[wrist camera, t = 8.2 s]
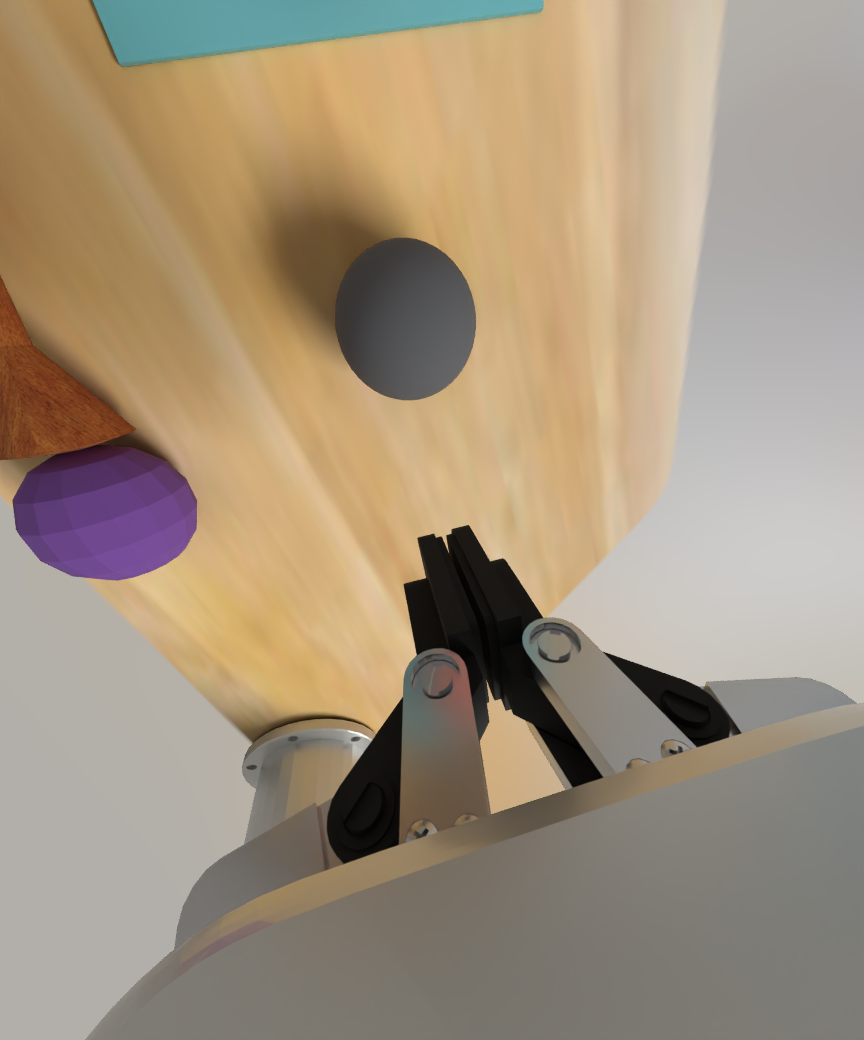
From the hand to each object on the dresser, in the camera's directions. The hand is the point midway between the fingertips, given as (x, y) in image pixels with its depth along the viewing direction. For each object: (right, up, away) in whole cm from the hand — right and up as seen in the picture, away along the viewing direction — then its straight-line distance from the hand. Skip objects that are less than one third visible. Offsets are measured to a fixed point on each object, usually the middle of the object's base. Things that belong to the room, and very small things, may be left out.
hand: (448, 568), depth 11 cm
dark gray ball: (-2, +9, +3) cm, 10 cm away
